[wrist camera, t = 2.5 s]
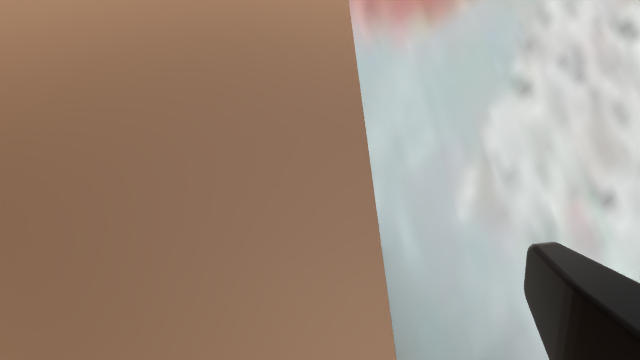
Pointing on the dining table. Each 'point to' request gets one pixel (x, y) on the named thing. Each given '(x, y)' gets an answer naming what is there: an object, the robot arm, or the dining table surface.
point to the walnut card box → (186, 183)
